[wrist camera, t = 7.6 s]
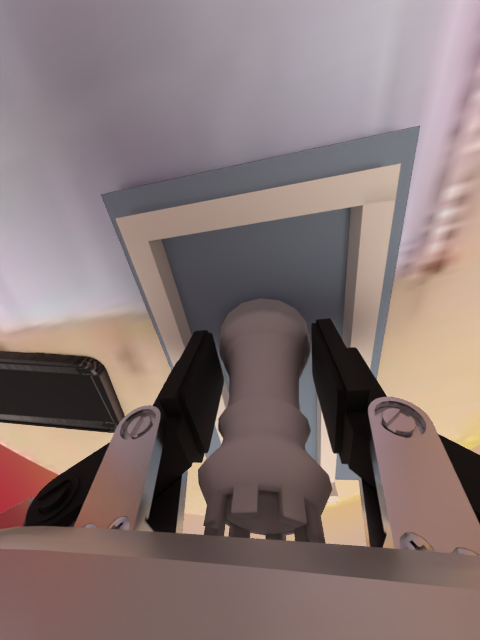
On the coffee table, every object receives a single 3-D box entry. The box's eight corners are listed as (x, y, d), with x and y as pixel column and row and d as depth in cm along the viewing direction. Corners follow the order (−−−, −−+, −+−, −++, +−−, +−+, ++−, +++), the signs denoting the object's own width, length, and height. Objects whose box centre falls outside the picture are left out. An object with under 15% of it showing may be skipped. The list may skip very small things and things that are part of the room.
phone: (123, 433, 19) (-30, 420, 20) (130, 422, 20) (-16, 409, 21) (93, 363, 15) (-93, 351, 16) (104, 353, 16) (-73, 342, 17)
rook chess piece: (258, 275, 10) (244, 449, 3) (326, 330, 11) (432, 554, 4) (205, 336, 12) (124, 528, 5) (267, 378, 13) (271, 586, 6)
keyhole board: (121, 194, 10) (62, 193, 7) (396, 136, 9) (469, 102, 5) (217, 459, 21) (209, 503, 18) (352, 460, 19) (369, 511, 16)
